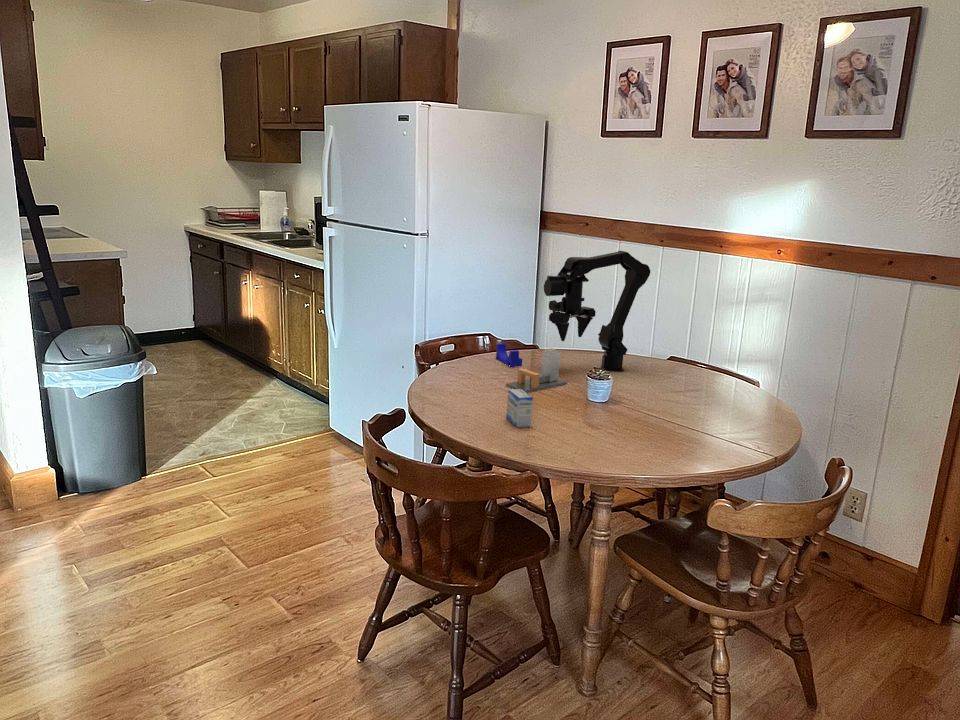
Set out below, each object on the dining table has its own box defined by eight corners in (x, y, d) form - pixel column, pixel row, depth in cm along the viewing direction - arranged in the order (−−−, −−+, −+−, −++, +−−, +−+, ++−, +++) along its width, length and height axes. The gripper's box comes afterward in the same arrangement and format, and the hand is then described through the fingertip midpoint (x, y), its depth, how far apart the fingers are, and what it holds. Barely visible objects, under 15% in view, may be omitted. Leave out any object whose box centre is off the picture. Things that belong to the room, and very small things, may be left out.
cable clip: (521, 367, 267) (522, 350, 265) (510, 368, 265) (511, 351, 263) (506, 358, 277) (507, 343, 276) (495, 359, 275) (496, 343, 274)
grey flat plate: (547, 377, 254) (547, 375, 254) (566, 384, 248) (567, 381, 248) (505, 386, 242) (505, 383, 242) (525, 393, 236) (525, 391, 236)
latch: (549, 377, 251) (551, 348, 249) (558, 380, 248) (560, 351, 246) (528, 381, 245) (530, 352, 242) (536, 384, 242) (538, 354, 240)
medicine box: (505, 418, 212) (507, 389, 210) (520, 417, 214) (522, 388, 211) (516, 427, 205) (518, 397, 203) (531, 426, 207) (533, 396, 204)
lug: (521, 381, 246) (522, 368, 245) (538, 387, 240) (539, 374, 239) (517, 382, 245) (518, 369, 244) (534, 388, 239) (535, 375, 238)
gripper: (572, 288, 267) (570, 330, 272) (537, 294, 255) (536, 338, 259) (597, 292, 260) (595, 336, 264) (562, 299, 247) (560, 344, 251)
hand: (571, 339), depth 260 cm, fingers open, 9 cm apart
